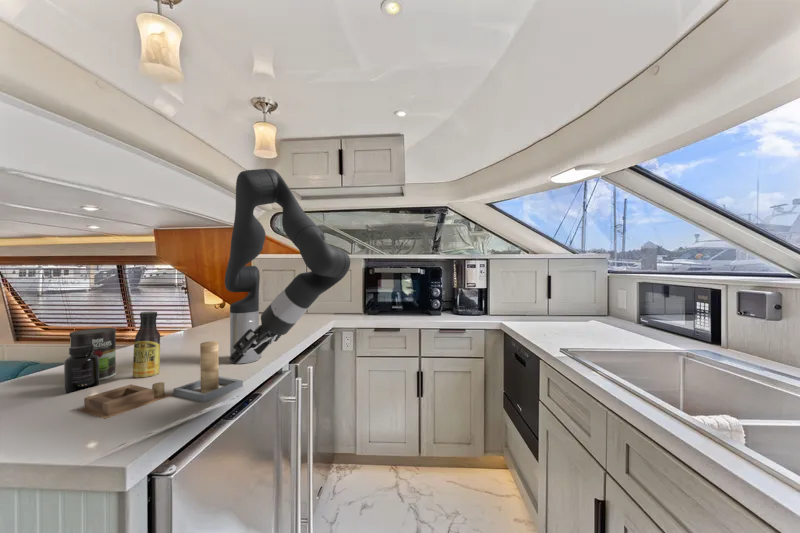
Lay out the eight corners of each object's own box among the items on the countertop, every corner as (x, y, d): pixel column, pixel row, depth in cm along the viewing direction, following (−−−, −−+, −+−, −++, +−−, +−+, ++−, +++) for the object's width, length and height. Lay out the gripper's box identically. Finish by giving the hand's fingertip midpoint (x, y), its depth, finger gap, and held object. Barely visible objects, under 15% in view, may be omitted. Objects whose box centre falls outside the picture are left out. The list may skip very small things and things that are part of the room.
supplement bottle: (64, 390, 90) (64, 345, 90) (98, 384, 95) (98, 341, 95) (64, 397, 86) (63, 350, 86) (100, 390, 90) (99, 345, 90)
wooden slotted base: (146, 394, 87) (145, 377, 87) (173, 400, 83) (173, 382, 83) (77, 416, 75) (76, 396, 75) (105, 425, 70) (104, 404, 70)
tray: (213, 386, 93) (213, 375, 93) (242, 392, 89) (242, 380, 89) (173, 400, 83) (173, 388, 83) (203, 408, 79) (203, 395, 79)
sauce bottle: (128, 384, 95) (127, 314, 95) (139, 377, 101) (138, 311, 101) (155, 382, 96) (154, 313, 96) (164, 375, 102) (163, 310, 102)
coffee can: (120, 376, 102) (120, 329, 102) (73, 386, 94) (73, 335, 94) (111, 370, 108) (111, 326, 108) (66, 378, 100) (66, 331, 100)
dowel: (211, 390, 88) (211, 340, 88) (222, 392, 87) (221, 342, 87) (197, 395, 85) (196, 344, 85) (207, 398, 83) (207, 345, 83)
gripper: (291, 296, 88) (254, 338, 91) (256, 303, 74) (213, 352, 77) (310, 317, 87) (272, 359, 90) (278, 328, 73) (233, 377, 76)
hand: (245, 356), depth 83 cm, fingers open, 8 cm apart
